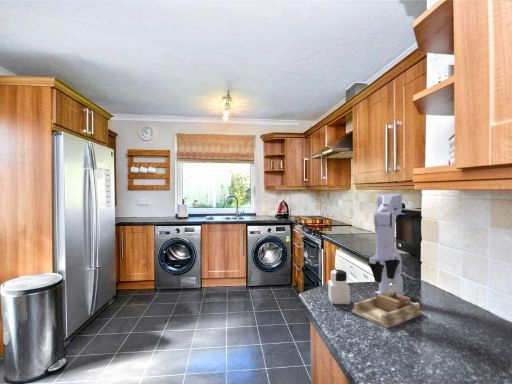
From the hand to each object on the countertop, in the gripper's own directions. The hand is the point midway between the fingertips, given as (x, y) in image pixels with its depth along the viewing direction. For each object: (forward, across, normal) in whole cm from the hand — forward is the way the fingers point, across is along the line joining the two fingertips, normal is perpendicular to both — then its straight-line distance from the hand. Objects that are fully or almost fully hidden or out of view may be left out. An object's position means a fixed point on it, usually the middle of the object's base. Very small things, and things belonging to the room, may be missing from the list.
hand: (384, 280), depth 104 cm
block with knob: (+9, 0, -3) cm, 10 cm away
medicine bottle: (+11, -9, +14) cm, 20 cm away
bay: (+10, -4, -3) cm, 11 cm away
